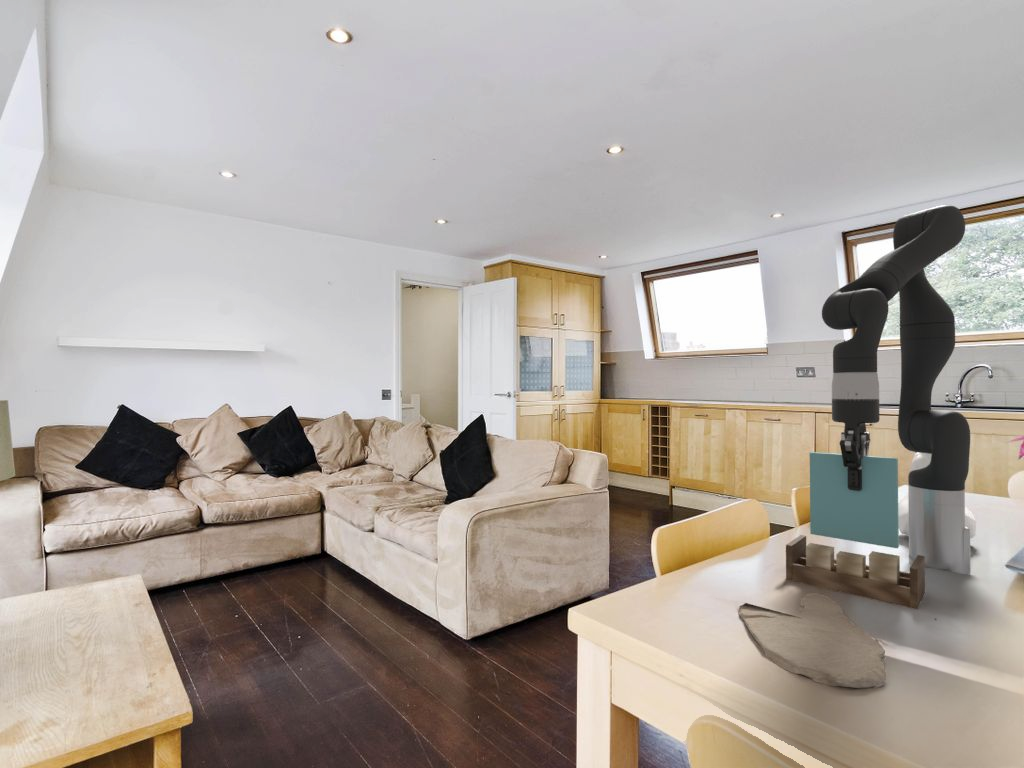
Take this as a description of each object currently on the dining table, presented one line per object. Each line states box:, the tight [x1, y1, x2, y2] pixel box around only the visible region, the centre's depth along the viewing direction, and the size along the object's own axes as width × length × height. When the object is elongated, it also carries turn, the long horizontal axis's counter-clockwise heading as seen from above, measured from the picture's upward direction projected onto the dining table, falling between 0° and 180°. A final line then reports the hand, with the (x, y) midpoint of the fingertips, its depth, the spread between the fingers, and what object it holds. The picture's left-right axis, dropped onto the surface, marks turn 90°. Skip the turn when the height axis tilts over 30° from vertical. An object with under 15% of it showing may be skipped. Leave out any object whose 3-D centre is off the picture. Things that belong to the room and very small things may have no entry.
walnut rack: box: [785, 534, 926, 610], centre depth 98 cm, size 20×10×8 cm, turn 46°
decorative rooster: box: [898, 452, 977, 539], centre depth 135 cm, size 25×16×25 cm, turn 138°
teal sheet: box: [809, 451, 900, 549], centre depth 100 cm, size 14×1×16 cm, turn 47°
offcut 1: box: [806, 542, 835, 572], centre depth 100 cm, size 4×3×6 cm
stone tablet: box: [737, 592, 887, 689], centre depth 81 cm, size 16×30×2 cm, turn 167°
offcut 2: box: [868, 550, 901, 585], centre depth 93 cm, size 4×3×7 cm
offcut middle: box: [835, 550, 867, 578], centre depth 96 cm, size 4×3×6 cm
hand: (855, 489), depth 100 cm, fingers closed on teal sheet, 1 cm apart
